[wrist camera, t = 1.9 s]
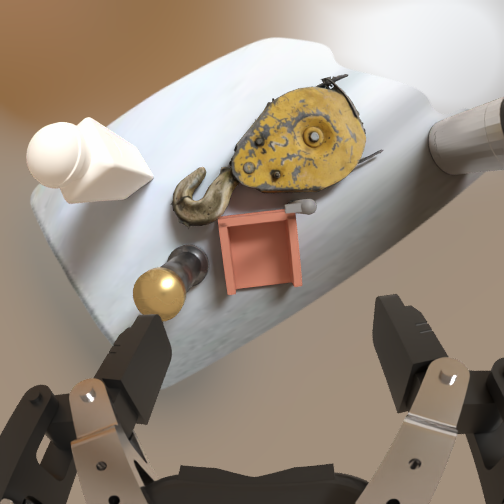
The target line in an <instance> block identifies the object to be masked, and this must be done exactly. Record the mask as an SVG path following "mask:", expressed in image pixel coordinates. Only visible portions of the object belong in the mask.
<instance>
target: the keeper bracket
mask: <svg viewBox="0 0 504 504" xmlns="http://www.w3.org/2000/svg"><path fill="white" fill-rule="evenodd" d="M284 208H285V209H281V210H272V211H263V212H254V213H246V214H237V215H229V216H221V217H219V218H218V226H219V234H220V242H221V249H222V257H223V264H224V272H225V279H226V286H227V293H228V295H232V294H236V289H239V288H248V287H257V286H265V285H273V284H281V283H289V282H292V283H293V285H294V287H298V286H302V276H301V265H300V254H299V244H298V234H297V224H296V215H295V213H300V214H308V215H310V214H313V213H314V212H315V211H316V208H317V205H316V203H315V201H314V200H312V199H303V200H295V201H290V202H289V203H288V204H286V205H284Z"/></svg>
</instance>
